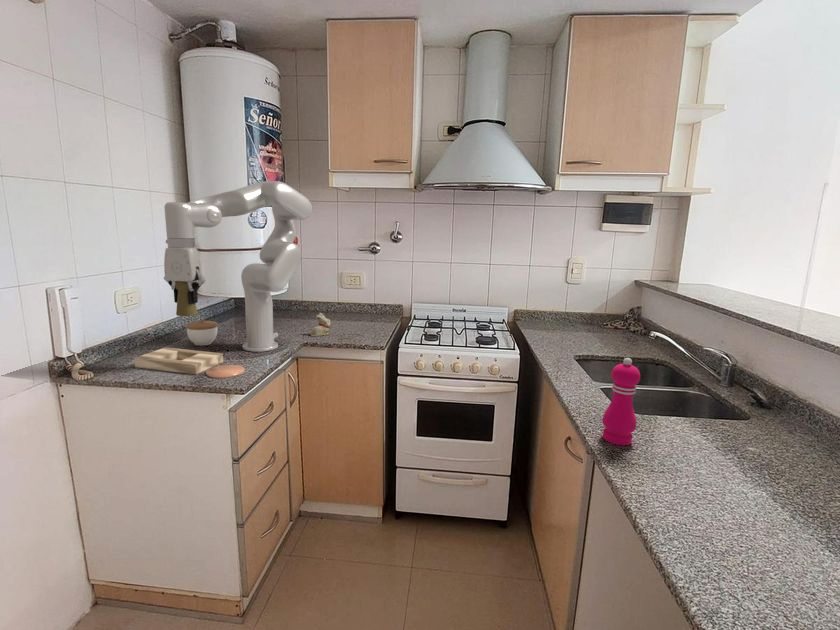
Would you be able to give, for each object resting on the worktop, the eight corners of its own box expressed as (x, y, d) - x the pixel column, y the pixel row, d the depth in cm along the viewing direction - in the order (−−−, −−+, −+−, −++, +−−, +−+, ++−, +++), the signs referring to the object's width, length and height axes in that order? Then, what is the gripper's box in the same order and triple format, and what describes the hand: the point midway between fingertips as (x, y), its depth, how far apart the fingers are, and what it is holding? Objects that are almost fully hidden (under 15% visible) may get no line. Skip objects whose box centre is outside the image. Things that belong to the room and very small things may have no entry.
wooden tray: (166, 355, 151) (165, 347, 150) (223, 362, 146) (222, 353, 146) (134, 367, 138) (134, 358, 138) (196, 374, 134) (195, 365, 133)
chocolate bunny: (327, 337, 183) (327, 314, 182) (309, 336, 184) (309, 313, 182) (331, 334, 189) (331, 311, 187) (313, 333, 189) (313, 310, 187)
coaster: (221, 365, 143) (221, 363, 143) (251, 368, 141) (251, 366, 141) (198, 375, 133) (198, 374, 133) (230, 379, 131) (230, 377, 131)
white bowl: (223, 340, 172) (222, 317, 171) (210, 347, 162) (208, 323, 160) (196, 339, 173) (195, 316, 171) (181, 346, 162) (179, 321, 160)
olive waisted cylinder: (173, 316, 134) (170, 280, 132) (179, 312, 140) (176, 278, 138) (195, 316, 136) (192, 280, 133) (199, 312, 142) (197, 278, 139)
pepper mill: (593, 433, 105) (604, 353, 101) (619, 431, 107) (630, 352, 103) (613, 448, 98) (625, 363, 94) (640, 445, 100) (653, 362, 96)
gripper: (148, 243, 132) (154, 302, 136) (196, 245, 128) (200, 306, 132) (168, 242, 139) (172, 298, 143) (213, 244, 135) (217, 302, 139)
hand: (186, 302), depth 137 cm, fingers closed on olive waisted cylinder, 4 cm apart
